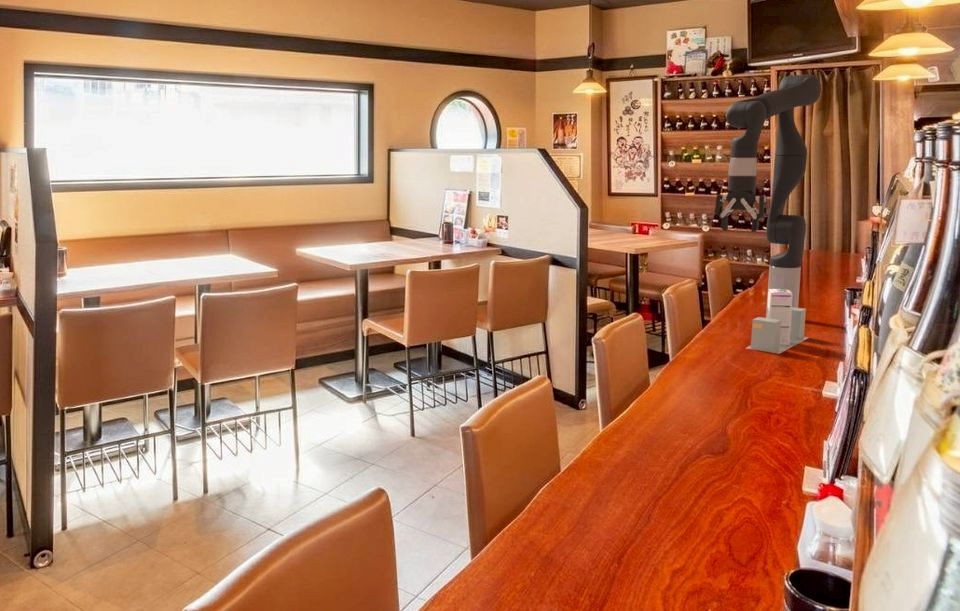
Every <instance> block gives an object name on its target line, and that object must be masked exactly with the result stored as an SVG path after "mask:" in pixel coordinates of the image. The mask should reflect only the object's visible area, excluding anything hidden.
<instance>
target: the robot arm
mask: <svg viewBox="0 0 960 611" xmlns="http://www.w3.org/2000/svg"><path fill="white" fill-rule="evenodd" d="M821 83H822V82H821V80H820V79H819V77H818V76H817V75H814V74H810V73H809V74H807V73H805V74H797V75H796V74H795V75H788V76H784V77H783V78H782V79H781V80H780V83H779V86H778V89H774V90H770V91H767V92H764V93H762V94H760V95H759V94H758V95H757V96H756V97H752V98H748V99H742V100H738V101H735V102H734V103H732V104H730V105H729V107H728V108H727V110H726V113H725V119H726V122H727V123H728V125H729V126H731V127H733V128H735V129H736V128H737V129H741V128H746V130H745V132H744V134H742V135H739V136H736V137H734V138H733V139H732V140H731V143H730V144H731V145H730V147H731V148H730V158H729V159H730V160H729V165H728V177H727V178H728V182H727V194H723V193H719V194H716V200H715V207H714V208H715V209H714V215H716V216H719V218H720V221H721V222H720V228H721V229H722V231H723V232H726V231H728V230H729V217H728V216H729V215H730V214H731V213H732V212H733V211H738V210H739V211H747V212H748V214H750V216H751V218H752V219H751V227H750V228H751V230H750V231H751V233H757V232H758V231H759V228H760V219H762V218H764V217H767V220H766V221H767V222H766V229H765V230H766V233H765V235H766V239H767V241H768V243H770V244H774V245H775V244H776V245H788V247H787V249H786V251H784V252H781V253H780V254H775V255H772V256H771V257H770V258H769V268H768V284H767V285H768V286H767V291H768V290H769V289H787V290H790V291H791V292H792V307H794V308H799V299H800V298H799V297H800V296H799V295H800V287H801V286H800V283H801V270H802V262H803V261H802V260H803V255H804V249H805V248H804V246H805V241H806V240H805V239H806V232H807V231H806V230H807V223H806V220H805V217H804V216H802V215H796V214H795V215H794V214H784V210H785V206H786V203H787V200H788V198H789V196H790V195H791V194H792V193H793V191H794V190H795V189H796V187H797V185H798V184H799V183H800V182H801V180H802V179H803V177H804V175H805V173H806V169H807V161H808V159H807V158H808V149H807V145H806V143H805V141H804V140H803V137H802V136H801V134H800V132H799V130H798V128H797V125H796V122H795V108H797V107H798V108H799V107H808V106H811V105H814V104H816V102H818V100H819V98H820V97H821V93H822V84H821ZM774 116H777V131H776V133H777V134H776V143H775V144H776V145H775V154H774V161H773V176H772V190H771V196H770V197H771V198H770V203H769V210H768V213H767V209H768V204H767V203H768V202H767V201H768V197H767V195H765V194H763V195H757V194H756V191H757V175H758V174H757V173H758V160H757V159H758V143H759V141H760V138H761V133H762V130H763V128H764V125H765V122H766V120H767V119H770V118H772V117H774ZM726 201H727V203H728V204H727V205H726V206H725V208H724V203H725V202H726ZM756 201H757V204H758V210H757V207H756V206H755V202H756ZM723 208H724V209H723ZM767 214H768V215H767ZM767 306H768V295H767V300H766V307H767ZM765 318H767V309H766V313H765Z"/></svg>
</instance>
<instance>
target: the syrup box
mask: <svg viewBox="0 0 960 611" xmlns="http://www.w3.org/2000/svg"><path fill="white" fill-rule="evenodd" d="M767 296H768V306H767V305H766V310H767V318H770V319H777V320H781V330H780V344H779V345H790V332H791V314H792V292H791V291H790V290H787V289H769V290H768V289H767Z"/></svg>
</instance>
